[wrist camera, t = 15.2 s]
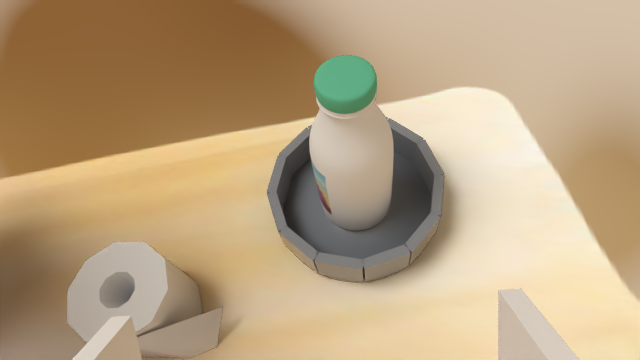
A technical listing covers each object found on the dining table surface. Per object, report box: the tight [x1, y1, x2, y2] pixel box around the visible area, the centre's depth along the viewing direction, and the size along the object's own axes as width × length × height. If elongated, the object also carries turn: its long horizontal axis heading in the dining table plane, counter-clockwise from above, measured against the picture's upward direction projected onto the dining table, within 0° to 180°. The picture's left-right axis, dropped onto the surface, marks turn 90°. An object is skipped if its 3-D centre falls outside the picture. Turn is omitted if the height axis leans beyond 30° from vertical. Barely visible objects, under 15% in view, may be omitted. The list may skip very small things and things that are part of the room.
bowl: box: [267, 117, 444, 282], centre depth 46 cm, size 18×18×5 cm
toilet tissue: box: [67, 241, 223, 358], centre depth 41 cm, size 9×13×9 cm
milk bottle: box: [309, 55, 394, 231], centre depth 39 cm, size 8×8×20 cm
